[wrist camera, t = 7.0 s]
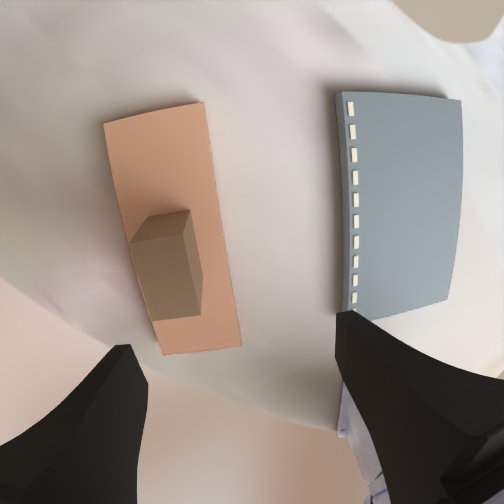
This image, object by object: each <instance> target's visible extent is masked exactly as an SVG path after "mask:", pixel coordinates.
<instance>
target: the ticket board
mask: <svg viewBox="0 0 504 504" xmlns="http://www.w3.org/2000/svg"><path fill="white" fill-rule="evenodd" d="M334 97H335V106H336V116H337V127H338V140H339V153H340V170H341V190H342V223H343V281H342V312H344V311H349V310H354V311H356V312H357V313H359V314H360V315H362V316H363V317H365V318H366V319H368V320H369V321H371V320H375V319H379V318H383V317H387V316H391V315H395V314H399V313H402V312H406V311H410V310H413V309H417V308H421V307H424V306H428V305H431V304H434V303H438V302H441V301H444V300H447V298H448V294H449V289H450V284H451V278H452V273H453V267H454V261H455V254H456V247H457V240H458V231H459V222H460V212H461V199H462V180H463V126H462V108H461V101H460V100H453V99H446V98H439V97H430V96H421V95H410V94H398V93H381V92H349V91H342V92H337V93H334Z"/></svg>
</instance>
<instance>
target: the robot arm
mask: <svg viewBox="0 0 504 504" xmlns="http://www.w3.org/2000/svg"><path fill="white" fill-rule="evenodd" d="M335 359H336V362H337V365H338V368H339V370H340V373H341V376H342V379H343V381H344V382H343V390H342V398H341V406H340V414H339V421H338V427H337V436H338V437H344V436H347V438H348V440H349V442H350V445H351V448H352V450H353V453H354V455H355V458H356V461H357V463H358V466H359V468H360V471H361V474H362V476H363V477H364V479H365V480H366V481H367V482H368V483H369V484H368V487H369V490H370V492H371V494H369V495H367V496H366V498H365V500H364V504H504V380H502V379H497V378H492V377H488V376H483V375H479V374H475V373H472V372H469V371H466V370H463V369H459V368H456V367H454V366H451V365H448V364H446V363H443V362H441V361H439V360H437V359H434V358H432V357H430V356H428V355H426V354H424V353H422V352H420V351H418V350H416V349H414V348H412V347H410V346H409V345H407V344H405V343H403V342H402V341H400V340H398V339H397V338H395V337H393V336H392V335H390V334H389V333H387V332H386V331H384V330H383V329H381V328H380V327H378V326H377V325H375V324H374V323H372V322H371V321H369V320H368V319H366V318H365V317H363V316H362V315H360V314H359V313H357V312H356V311H354V310H349V311H344V312H340V313H336V343H335ZM147 403H148V383H147V380H146V378H145V376H144V374H143V372H142V370H141V367H140V365H139V363H138V361H137V358H136V356H135V354H134V352H133V349H132V347H131V345H130V344H125V345H115V346H114V347H113V348H112V349H111V350H110V351H109V352H108V353H107V354H106V355H105V356H104V357H103V359H102V360H101V361H100V362H99V363H98V364H97V365H96V366H95V367H94V369H93V370H92V371H91V372H90V373H89V374H88V375H87V376H86V377H85V378H84V380H83V381H82V382H81V383H80V384H79V385H78V386H77V387H76V388H75V389H74V390H73V391H72V392H71V393H70V394H69V395H68V396H67V397H66V398H65V399H64V400H63V401H62V402H61V403H60V404H59V405H58V406H57V407H56V408H55V409H53V410H52V411H51V412H50V413H49V414H47V415H46V416H45V417H44V418H43V419H41V420H40V421H39V422H37V423H36V424H34V425H33V426H32V427H30V428H29V429H28V430H26V431H25V432H23V433H22V434H21V435H19V436H17V437H15V438H14V439H12V440H10V441H8V442H7V443H5V444H3V445H1V446H0V504H137V466H138V457H139V451H140V446H141V440H142V434H143V428H144V423H145V418H146V411H147Z"/></svg>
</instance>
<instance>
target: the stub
mask: <svg viewBox="0 0 504 504" xmlns="http://www.w3.org/2000/svg"><path fill="white" fill-rule="evenodd" d="M103 125H104V132H105V138H106V144H107V150H108V156H109V161H110V167H111V172H112V177H113V182H114V187H115V192H116V196H117V201H118V205H119V210H120V214H121V218H122V222H123V227H124V231H125V235H126V238H127V242H128V246H129V250H130V254H131V257H132V261H133V264H134V268H135V271H136V275H137V278H138V281H139V285H140V288H141V291H142V295H143V298H144V301H145V304H146V307H147V310H148V313H149V316H150V319H151V322H152V325H153V328H154V331H155V334H156V337H157V339H158V342H159V345H160V348H161V350H162V353H163V355H171V354H181V353H190V352H199V351H207V350H215V349H222V348H230V347H237V346H242V343H241V336H240V330H239V325H238V319H237V313H236V308H235V302H234V296H233V290H232V284H231V278H230V272H229V266H228V260H227V254H226V248H225V242H224V235H223V229H222V223H221V216H220V210H219V203H218V197H217V190H216V183H215V176H214V170H213V163H212V156H211V149H210V142H209V134H208V127H207V120H206V112H205V105H204V102H201V103H195V104H189V105H183V106H178V107H172V108H167V109H162V110H157V111H153V112H148V113H144V114H139V115H135V116H131V117H127V118H123V119H119V120H115V121H112V122H108V123H104V124H103Z"/></svg>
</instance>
